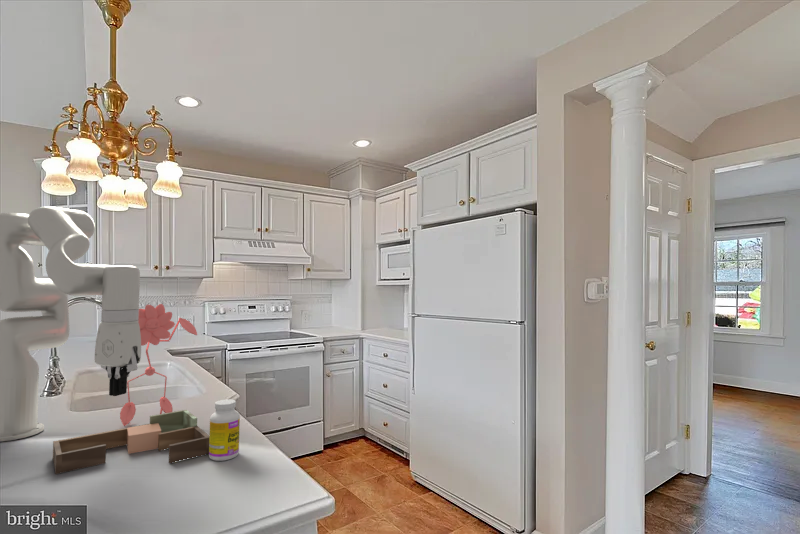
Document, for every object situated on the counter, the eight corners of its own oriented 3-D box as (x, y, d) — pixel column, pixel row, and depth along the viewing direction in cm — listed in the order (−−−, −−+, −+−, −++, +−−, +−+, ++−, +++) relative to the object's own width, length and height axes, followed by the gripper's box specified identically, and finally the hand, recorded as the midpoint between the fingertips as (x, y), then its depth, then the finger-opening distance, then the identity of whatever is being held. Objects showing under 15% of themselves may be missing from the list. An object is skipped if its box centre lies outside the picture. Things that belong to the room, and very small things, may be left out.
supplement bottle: (228, 463, 100) (229, 406, 101) (202, 460, 102) (203, 404, 102) (244, 452, 107) (245, 399, 107) (220, 449, 108) (221, 397, 109)
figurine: (91, 426, 125) (96, 304, 126) (187, 409, 143) (191, 301, 144) (101, 442, 114) (106, 307, 115) (204, 421, 132) (207, 304, 132)
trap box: (52, 458, 102) (53, 432, 103) (185, 431, 121) (186, 409, 122) (58, 491, 87) (59, 460, 87) (210, 453, 106) (211, 428, 106)
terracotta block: (126, 445, 111) (127, 427, 111) (158, 440, 115) (158, 423, 115) (128, 454, 105) (128, 435, 106) (160, 448, 109) (161, 430, 110)
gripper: (82, 317, 103) (80, 395, 103) (128, 319, 98) (125, 401, 98) (113, 314, 111) (110, 388, 110) (157, 317, 105) (155, 394, 105)
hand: (117, 394), depth 104 cm, fingers closed
